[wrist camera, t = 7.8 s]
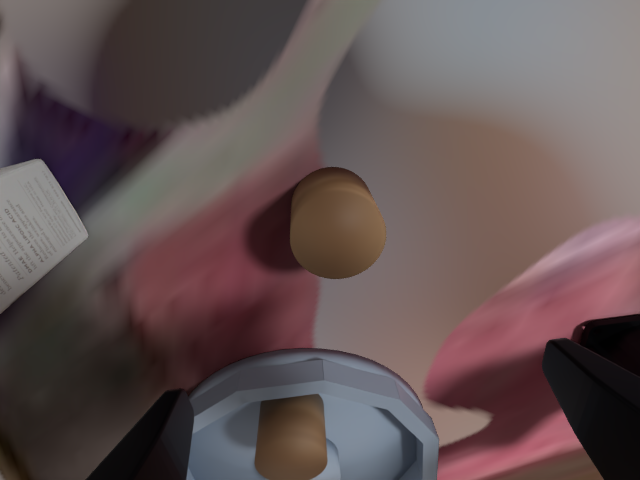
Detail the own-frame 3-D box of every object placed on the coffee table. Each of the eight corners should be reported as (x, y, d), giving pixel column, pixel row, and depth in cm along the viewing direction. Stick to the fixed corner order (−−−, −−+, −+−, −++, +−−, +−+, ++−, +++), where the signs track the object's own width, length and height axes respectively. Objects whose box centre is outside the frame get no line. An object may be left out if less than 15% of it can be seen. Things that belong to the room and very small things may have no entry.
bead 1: (302, 433, 24) (303, 490, 21) (249, 415, 23) (241, 471, 20) (335, 398, 23) (341, 453, 20) (280, 376, 22) (277, 431, 19)
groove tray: (427, 330, 22) (443, 365, 20) (423, 492, 31) (433, 529, 28) (137, 368, 23) (118, 406, 20) (212, 518, 31) (205, 558, 29)
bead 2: (368, 161, 17) (384, 186, 14) (373, 235, 19) (388, 272, 16) (284, 173, 17) (282, 200, 14) (297, 246, 19) (297, 284, 16)
